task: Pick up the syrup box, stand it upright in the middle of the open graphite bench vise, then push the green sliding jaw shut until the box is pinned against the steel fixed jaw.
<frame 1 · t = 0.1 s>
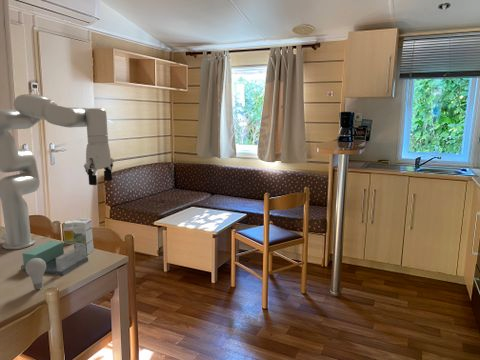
hand: (100, 182, 148), 31 cm above the table, tool pointing down, fingers open, 9 cm apart
vise slide jaw: (44, 253, 144), point 4 cm above the table, slide at 0.0 cm
lightbulb: (38, 289, 124), on the table
supplement bottle: (71, 242, 168), on the table
syrup box: (84, 253, 156), on the table
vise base: (57, 265, 143), on the table
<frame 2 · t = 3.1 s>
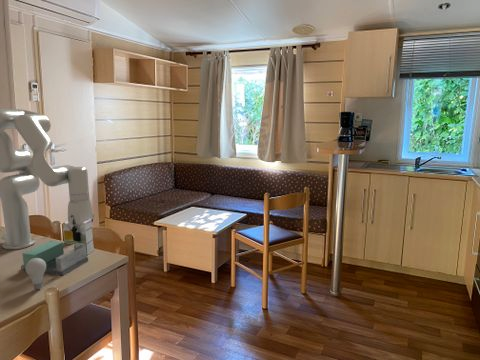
hand: (82, 237, 155), 7 cm above the table, tool pointing down, fingers closed on syrup box, 6 cm apart
syrup box: (84, 253, 156), on the table, touching gripper
everything else where it was.
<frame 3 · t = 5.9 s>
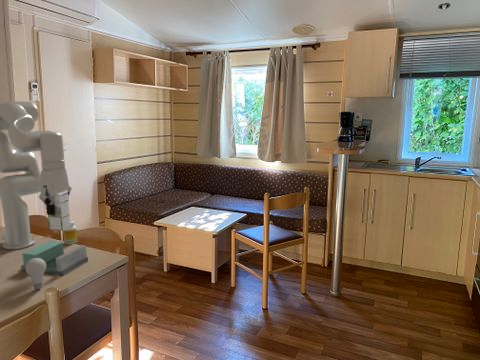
hand: (57, 211, 140), 22 cm above the table, tool pointing down, fingers closed on syrup box, 6 cm apart
syrup box: (60, 228, 141), point 15 cm above the table, touching gripper
everything else where it was.
when the fingers open (9 cm above the table, at t = 8.9 s): syrup box stays where it is, resting on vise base.
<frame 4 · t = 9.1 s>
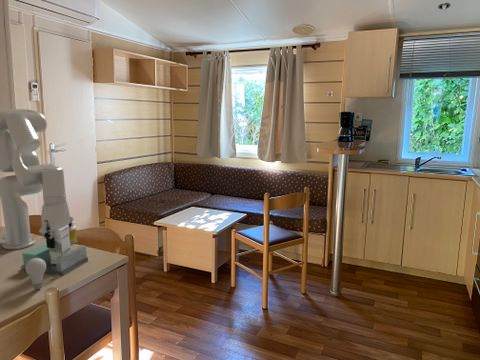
hand: (58, 243, 141), 9 cm above the table, tool pointing down, fingers open, 7 cm apart
syrup box: (60, 262, 142), point 1 cm above the table, touching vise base
everything else where it was.
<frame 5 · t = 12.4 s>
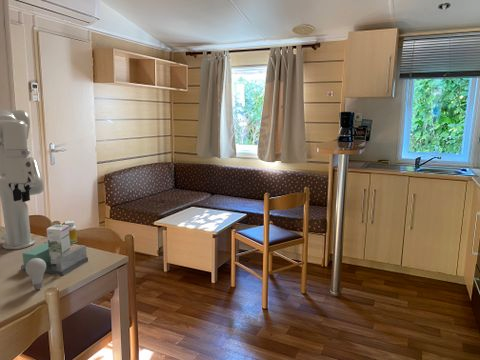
hand: (21, 200, 142), 25 cm above the table, tool pointing down, fingers open, 3 cm apart
nothing on the table moved.
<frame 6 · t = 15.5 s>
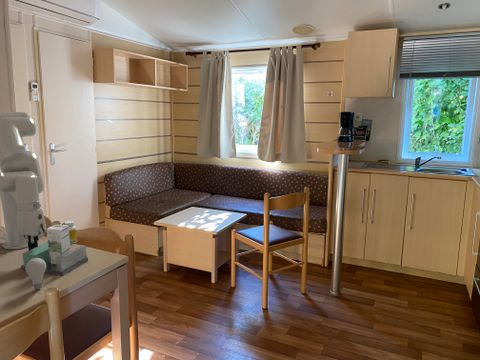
hand: (33, 251, 145), 5 cm above the table, tool pointing down, fingers closed
vise slide jaw: (44, 253, 144), point 4 cm above the table, slide at 0.0 cm, touching gripper
everything else where it was.
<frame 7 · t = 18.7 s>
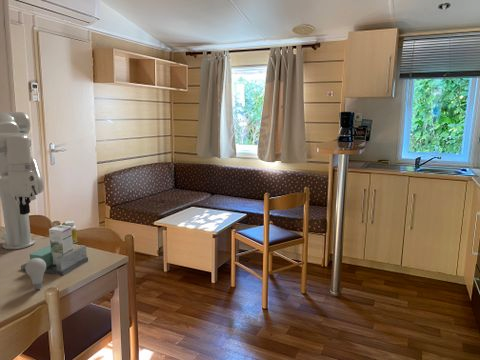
hand: (25, 213, 143), 20 cm above the table, tool pointing down, fingers closed
vise slide jaw: (50, 254, 143), point 4 cm above the table, slide at 3.2 cm, touching syrup box
syrup box: (63, 263, 142), point 1 cm above the table, touching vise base, vise slide jaw
everything else where it was.
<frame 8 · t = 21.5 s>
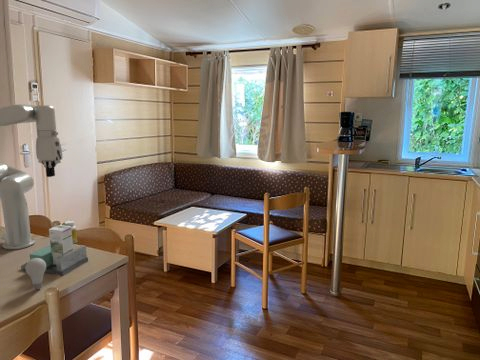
hand: (50, 176, 161), 31 cm above the table, tool pointing down, fingers closed
nothing on the table moved.
at the end: vise slide jaw slide at 3.2 cm; syrup box touching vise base, vise slide jaw; syrup box tilted 0° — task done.
